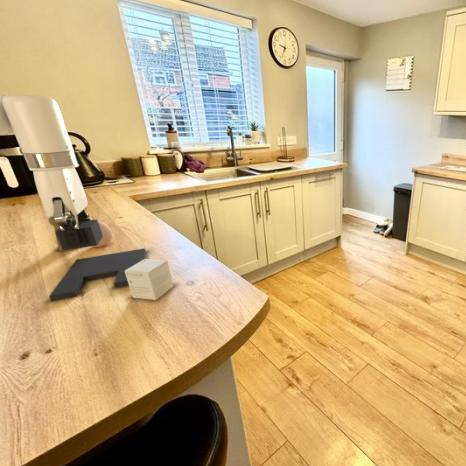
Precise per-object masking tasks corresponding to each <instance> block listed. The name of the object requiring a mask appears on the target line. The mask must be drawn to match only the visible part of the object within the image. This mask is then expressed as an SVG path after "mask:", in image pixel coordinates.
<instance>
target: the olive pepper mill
mask: <svg viewBox="0 0 466 466" xmlns="http://www.w3.org/2000/svg"><path fill="white" fill-rule="evenodd" d="M65 215H70V213H65ZM67 219H70V220H71V221H72V218H67ZM48 223H49V224H50V225H51V226H52V227H53V228H54V234H55V239H56V243H57V249H58V251H60V252H68V251H74V250H75V249H70V250H64V251H63V250H62V247H61V245H60V242H59V240H58V238H57V235H56V233H55V231H57V230H58V229H59V228H60V225H58V222H56V221H55V219H54V218H49V217H48Z"/></svg>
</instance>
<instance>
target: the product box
mask: <svg viewBox="0 0 466 466" xmlns="http://www.w3.org/2000/svg"><path fill="white" fill-rule="evenodd" d="M125 274H126V277H127V281H128V284H129V285H128V287H129V290H130V294H131V296H132V298H133V299H144V300H151V301H152V300H153V301H156V300H158V299H159V298H161V297H162V296H163V295H164V294H166V293H167V292H168V291H169V290H171V289H173V287H174V281H173V277H172V274H171V269H170V265H169V262H168V260H162V259H151V258H149V259H148V258H144V260H142V261H140V262H139V263H137V264H135V265H134V266H132V267H130V268H128V269H127V270H125Z"/></svg>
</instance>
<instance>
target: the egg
mask: <svg viewBox="0 0 466 466" xmlns="http://www.w3.org/2000/svg"><path fill="white" fill-rule="evenodd" d="M98 223H99V226H100V229H101V232H102V234H103V237H102V239H101V240H100V242H99V243H98V245H97V246H93V248H102V247H105V246H107V245H108V244H110V242H112V239H113V236H114V235H113V231H112V229H111V228H110V226H108V225H107V224H106V223H104V222H102V221H99V220H98Z"/></svg>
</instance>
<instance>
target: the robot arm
mask: <svg viewBox="0 0 466 466" xmlns="http://www.w3.org/2000/svg"><path fill="white" fill-rule="evenodd" d="M13 135H14V136H15V138H16V141H17V143H18V146H19V147H20V150H21V153H22V155H23V157H24V160H25V162H26V164H27V167H28V169H29V171H30V172H31V171H32V173H33V178H34V183H35V187H36V190H37V194H38V196H39V199H40V203H41V204H42V208H43V211H44V214H45V215H46V217H47V218H48V219H49V218H54V219H55V221H56V222H58V225H60V229H61V230H62V232H63V235H64V237H65V239H66V242H67V244H68V246H69V247H74V246H81V245H86V244H87V240H86V237H85V234H84V232H83V229H82V227H79V223H78V222H79V221H87V220H92V219H91V218H90V213H89V212H88V210H87V208H88V205H89V201H88V198H87V194H86V192H85V191H86V190H85V189H84V186H83V183H82V181H81V178H80V177H79V174H78V172H77V170H76V168H79V167H80V165H79V161H78V159H77V156H76V153H75V150H74V147H73V144H72V141H71V139H70V136H69V132H68V130H67V127H66V124H65V122H64V118H63V115H62V113H61V110H60V107H59V105H58V103H57V102H56V100H54V98H52V97H50V96H46V95H35V94H34V95H33V94H8V95H6V94H0V136H13ZM65 213H67V214H70V215H65ZM67 218H72V221H71V220H70V219H67Z"/></svg>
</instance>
